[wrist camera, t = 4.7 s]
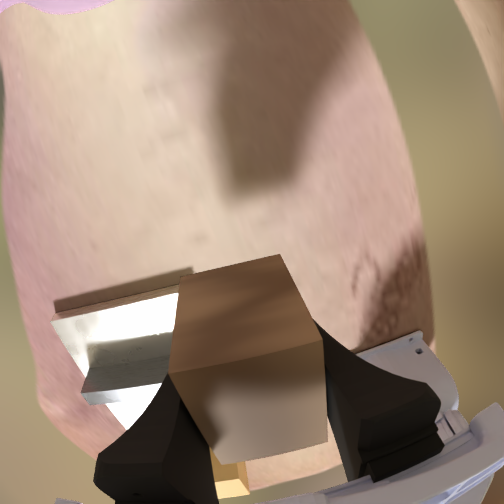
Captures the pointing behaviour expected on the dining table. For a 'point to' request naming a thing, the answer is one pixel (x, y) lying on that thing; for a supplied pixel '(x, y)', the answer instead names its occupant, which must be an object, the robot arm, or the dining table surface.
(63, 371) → the dining table surface
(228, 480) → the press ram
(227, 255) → the dining table surface
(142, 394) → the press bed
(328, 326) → the dining table surface
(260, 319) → the brown wooden block
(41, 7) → the pink lobed block
